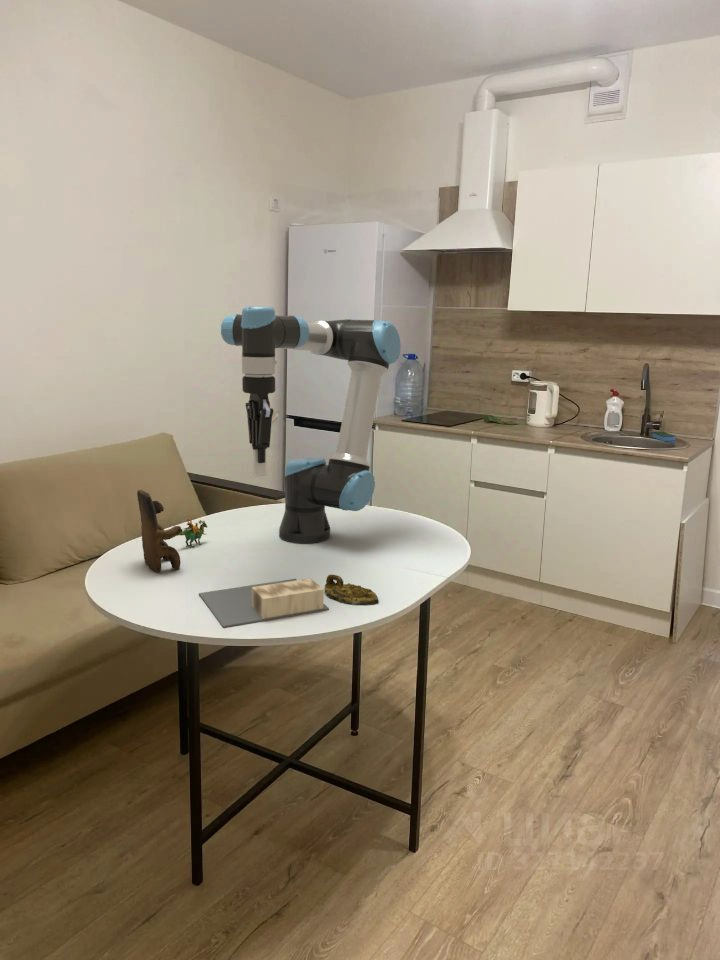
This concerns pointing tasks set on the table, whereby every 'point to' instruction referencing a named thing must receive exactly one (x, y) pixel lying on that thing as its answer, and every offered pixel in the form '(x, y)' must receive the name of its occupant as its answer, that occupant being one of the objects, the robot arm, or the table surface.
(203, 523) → the figurine
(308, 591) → the beech block
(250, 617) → the rubber mat
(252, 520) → the table surface
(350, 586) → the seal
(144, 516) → the figurine
